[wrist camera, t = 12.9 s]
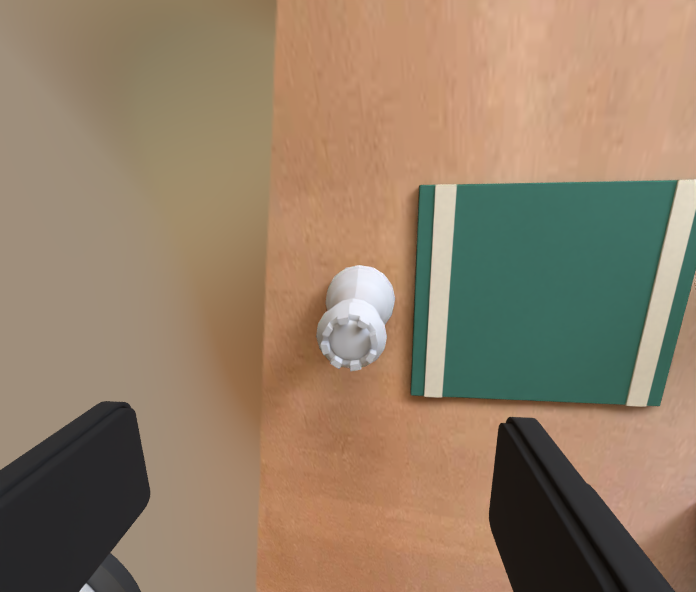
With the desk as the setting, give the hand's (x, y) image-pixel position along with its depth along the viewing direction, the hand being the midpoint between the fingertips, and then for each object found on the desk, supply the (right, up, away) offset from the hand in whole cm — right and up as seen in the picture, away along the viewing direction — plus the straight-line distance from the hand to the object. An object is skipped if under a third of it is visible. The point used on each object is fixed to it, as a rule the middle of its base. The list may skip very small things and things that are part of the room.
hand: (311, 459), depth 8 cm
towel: (+13, +4, +12) cm, 19 cm away
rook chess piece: (+2, +4, +14) cm, 15 cm away
